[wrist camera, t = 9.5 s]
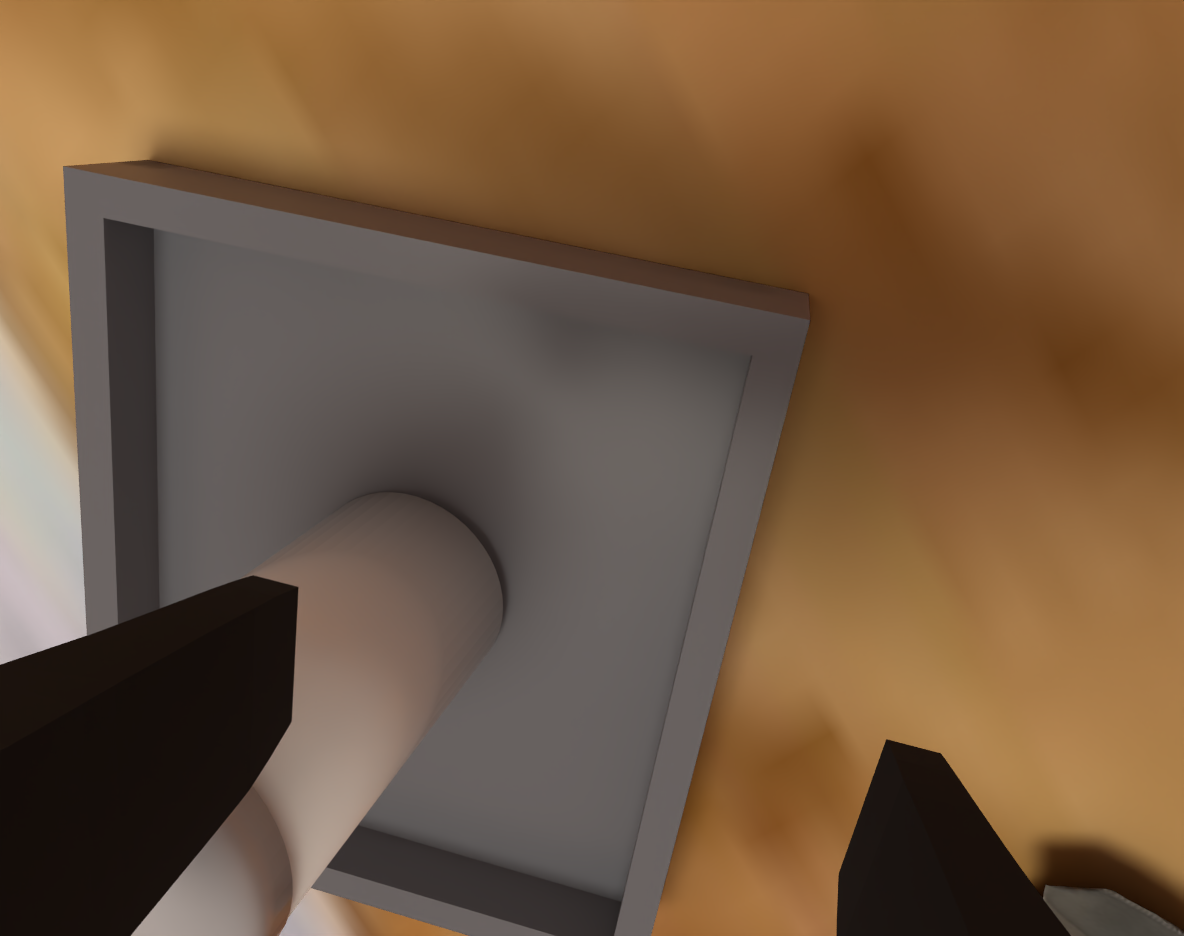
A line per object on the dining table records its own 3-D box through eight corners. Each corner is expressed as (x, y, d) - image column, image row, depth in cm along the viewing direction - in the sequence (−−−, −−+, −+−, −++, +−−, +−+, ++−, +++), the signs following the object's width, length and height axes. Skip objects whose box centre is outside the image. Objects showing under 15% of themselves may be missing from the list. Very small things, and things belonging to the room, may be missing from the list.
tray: (808, 293, 18) (809, 320, 16) (652, 903, 24) (637, 986, 22) (148, 159, 20) (63, 166, 17) (158, 759, 26) (96, 823, 24)
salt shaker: (520, 525, 19) (244, 828, 11) (489, 707, 21) (234, 1082, 13) (319, 464, 20) (-73, 700, 12) (307, 643, 22) (-40, 955, 14)
